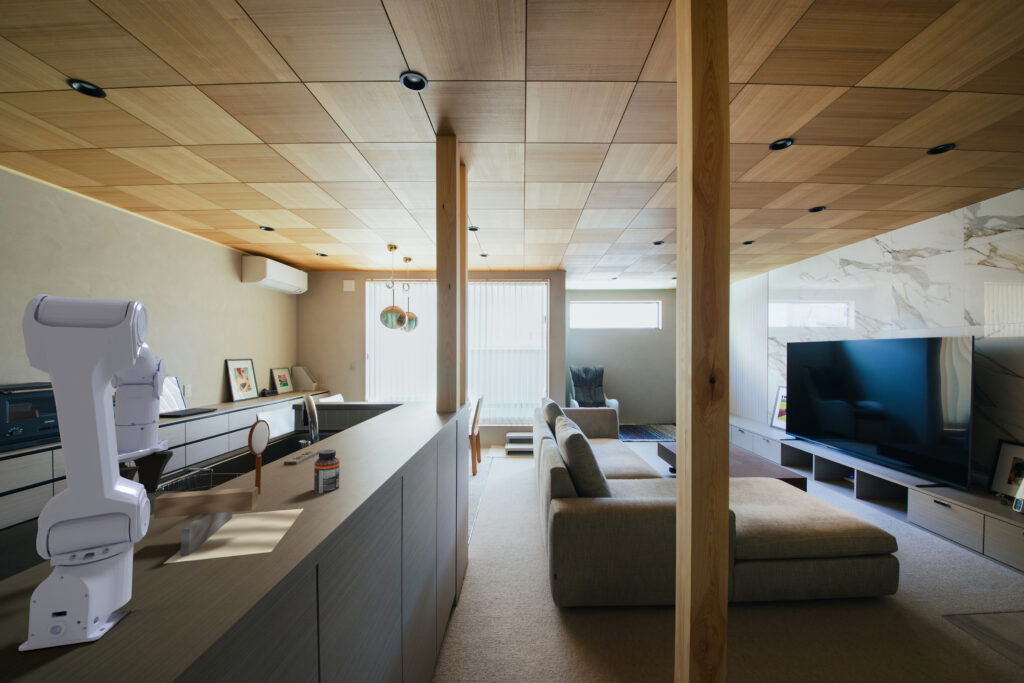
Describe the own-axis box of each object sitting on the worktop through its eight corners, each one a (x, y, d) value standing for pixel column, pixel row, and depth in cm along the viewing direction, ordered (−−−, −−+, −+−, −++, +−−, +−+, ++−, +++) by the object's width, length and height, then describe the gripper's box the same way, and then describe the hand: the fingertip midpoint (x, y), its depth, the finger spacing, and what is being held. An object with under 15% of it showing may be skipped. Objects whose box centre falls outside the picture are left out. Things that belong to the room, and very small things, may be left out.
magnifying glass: (250, 506, 92) (253, 422, 93) (243, 506, 92) (245, 422, 93) (270, 493, 100) (272, 417, 101) (263, 494, 100) (265, 417, 101)
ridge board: (270, 560, 67) (271, 525, 68) (163, 572, 64) (164, 535, 64) (303, 515, 87) (304, 488, 87) (222, 522, 83) (223, 494, 83)
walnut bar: (153, 518, 71) (154, 498, 71) (163, 512, 73) (164, 493, 74) (251, 510, 74) (252, 491, 75) (257, 505, 77) (258, 486, 77)
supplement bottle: (314, 492, 101) (315, 449, 102) (338, 489, 104) (339, 447, 104) (313, 500, 96) (314, 454, 96) (339, 496, 98) (340, 452, 99)
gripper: (135, 429, 62) (131, 514, 62) (187, 416, 77) (184, 485, 76) (81, 431, 61) (77, 518, 60) (144, 417, 75) (141, 488, 74)
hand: (133, 500), depth 68 cm, fingers open, 7 cm apart
